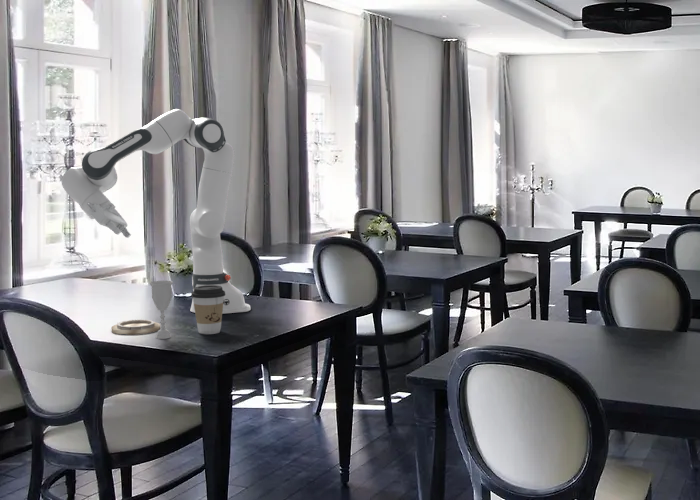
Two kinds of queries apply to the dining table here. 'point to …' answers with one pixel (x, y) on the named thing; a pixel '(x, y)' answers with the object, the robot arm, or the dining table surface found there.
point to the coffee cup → (208, 308)
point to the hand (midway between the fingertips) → (124, 234)
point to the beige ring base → (135, 327)
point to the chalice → (162, 303)
